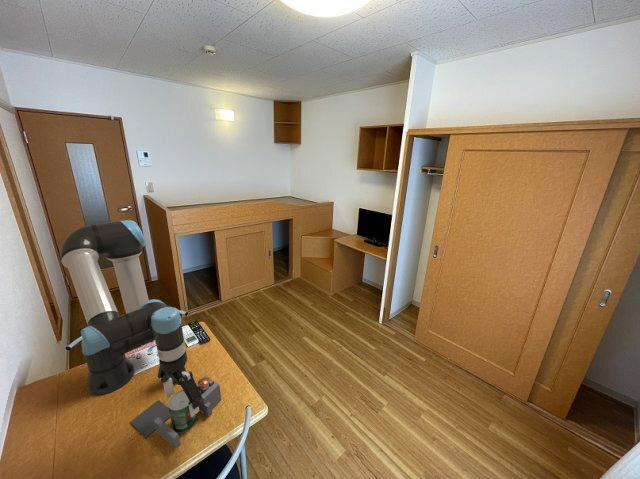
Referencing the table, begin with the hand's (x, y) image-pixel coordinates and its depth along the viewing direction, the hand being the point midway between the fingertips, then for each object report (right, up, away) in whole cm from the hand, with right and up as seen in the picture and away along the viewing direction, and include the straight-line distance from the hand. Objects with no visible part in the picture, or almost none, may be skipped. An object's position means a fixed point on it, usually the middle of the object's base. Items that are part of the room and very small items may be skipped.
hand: (182, 404), depth 89 cm
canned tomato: (-1, -9, +3) cm, 9 cm away
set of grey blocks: (+1, -8, +5) cm, 10 cm away
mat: (-13, -8, +4) cm, 15 cm away
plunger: (+4, -3, +9) cm, 11 cm away
